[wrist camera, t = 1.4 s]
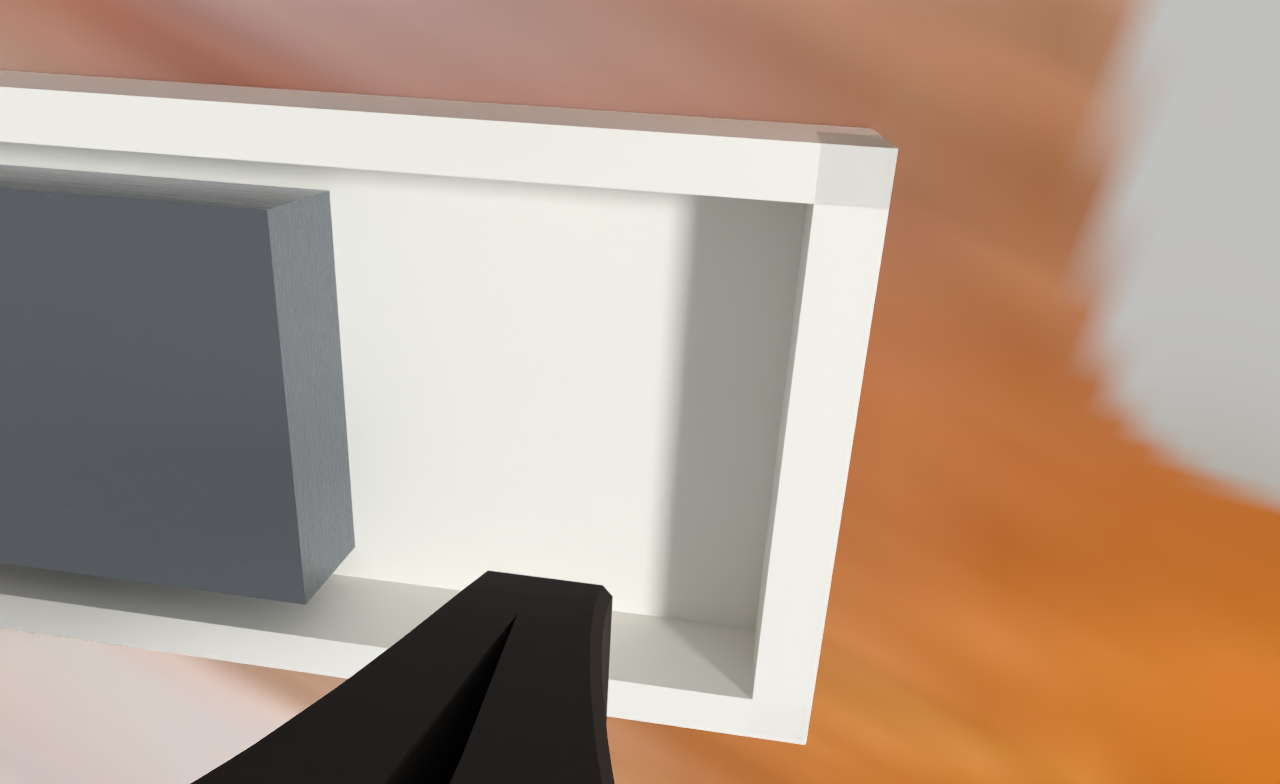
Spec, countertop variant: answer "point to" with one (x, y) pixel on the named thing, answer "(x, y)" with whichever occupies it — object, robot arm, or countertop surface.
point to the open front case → (536, 373)
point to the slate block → (171, 383)
